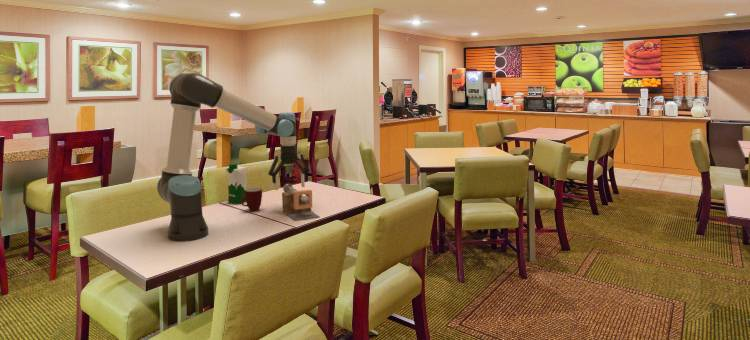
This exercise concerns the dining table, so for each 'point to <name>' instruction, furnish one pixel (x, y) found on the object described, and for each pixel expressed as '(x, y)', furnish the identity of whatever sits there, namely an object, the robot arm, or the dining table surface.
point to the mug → (252, 198)
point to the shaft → (290, 189)
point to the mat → (303, 215)
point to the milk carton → (236, 183)
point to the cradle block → (291, 203)
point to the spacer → (296, 199)
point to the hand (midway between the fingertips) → (289, 188)
